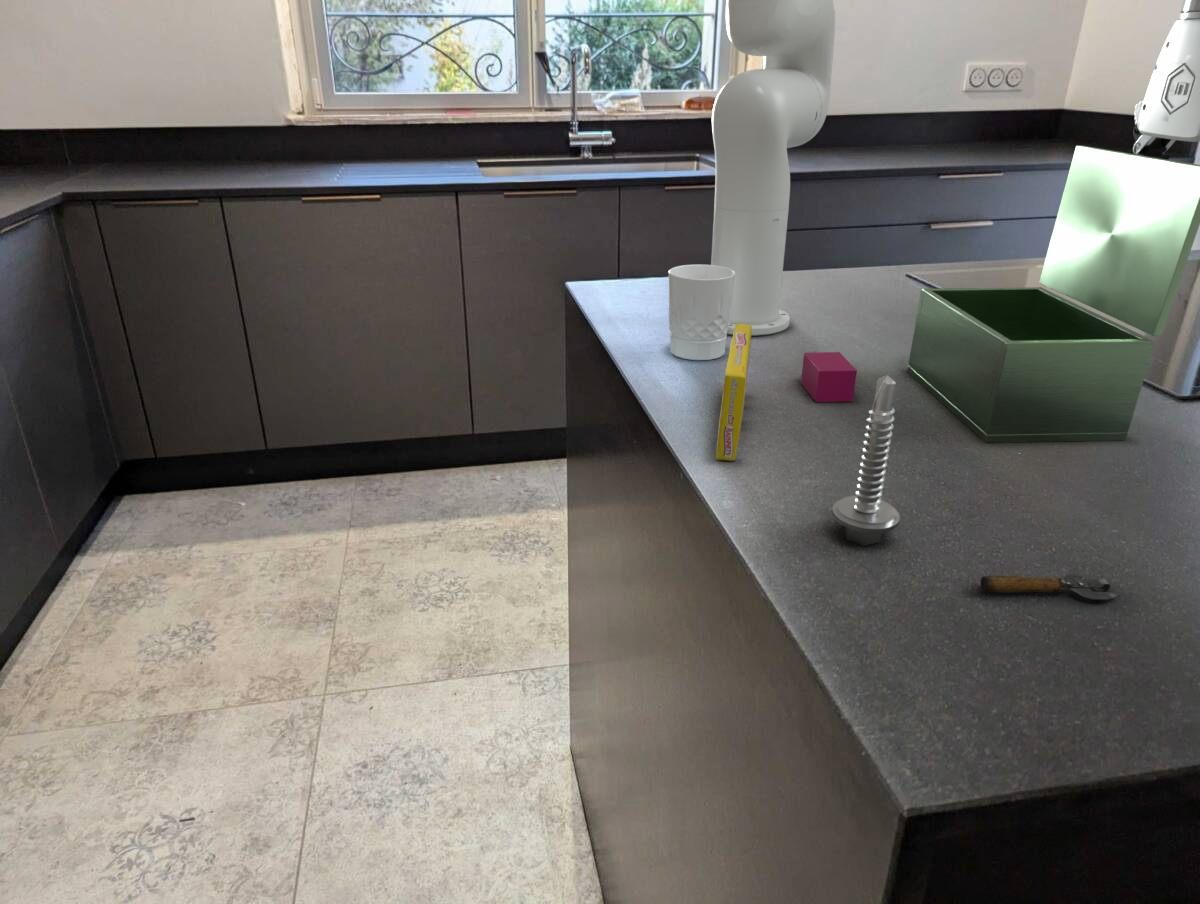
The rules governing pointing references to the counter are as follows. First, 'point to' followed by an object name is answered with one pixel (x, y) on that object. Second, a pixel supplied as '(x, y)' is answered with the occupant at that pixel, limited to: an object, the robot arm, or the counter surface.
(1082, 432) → the bin
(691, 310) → the white cup
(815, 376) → the block
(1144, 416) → the counter surface
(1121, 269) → the bin lid
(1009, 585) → the can opener
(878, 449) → the screw
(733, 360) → the candy box
